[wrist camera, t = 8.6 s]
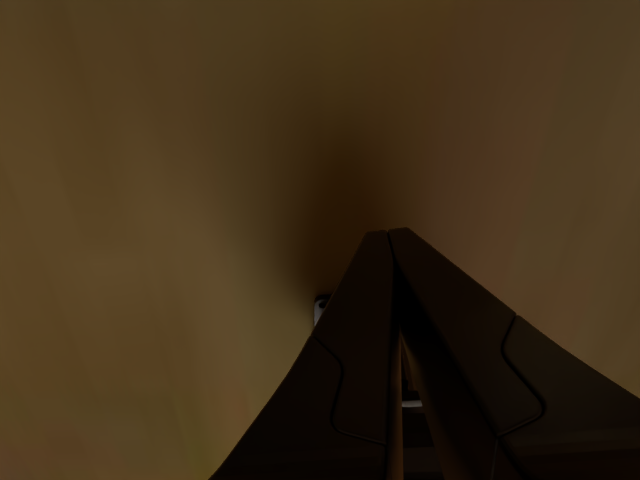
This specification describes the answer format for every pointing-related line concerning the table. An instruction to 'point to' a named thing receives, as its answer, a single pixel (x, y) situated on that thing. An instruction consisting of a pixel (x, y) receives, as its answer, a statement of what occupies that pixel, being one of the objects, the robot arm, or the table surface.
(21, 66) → the table surface
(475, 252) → the table surface
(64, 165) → the table surface
